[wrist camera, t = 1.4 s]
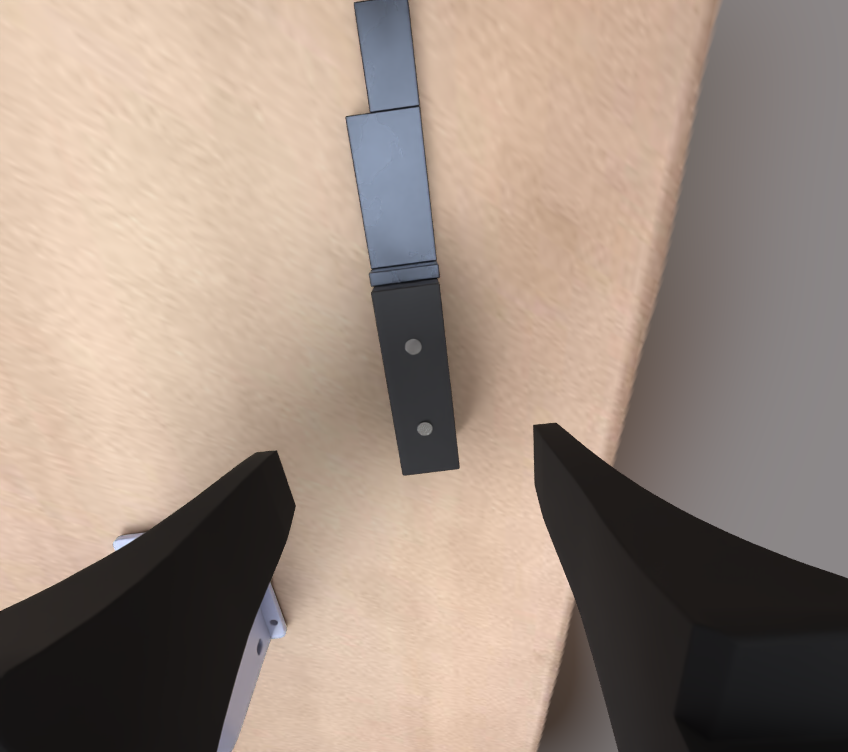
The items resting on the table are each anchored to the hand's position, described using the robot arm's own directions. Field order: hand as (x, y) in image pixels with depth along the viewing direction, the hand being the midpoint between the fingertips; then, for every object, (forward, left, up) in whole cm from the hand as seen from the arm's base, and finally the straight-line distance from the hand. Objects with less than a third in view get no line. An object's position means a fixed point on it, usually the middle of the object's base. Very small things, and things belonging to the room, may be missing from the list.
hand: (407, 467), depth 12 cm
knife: (+4, 0, -10) cm, 11 cm away
